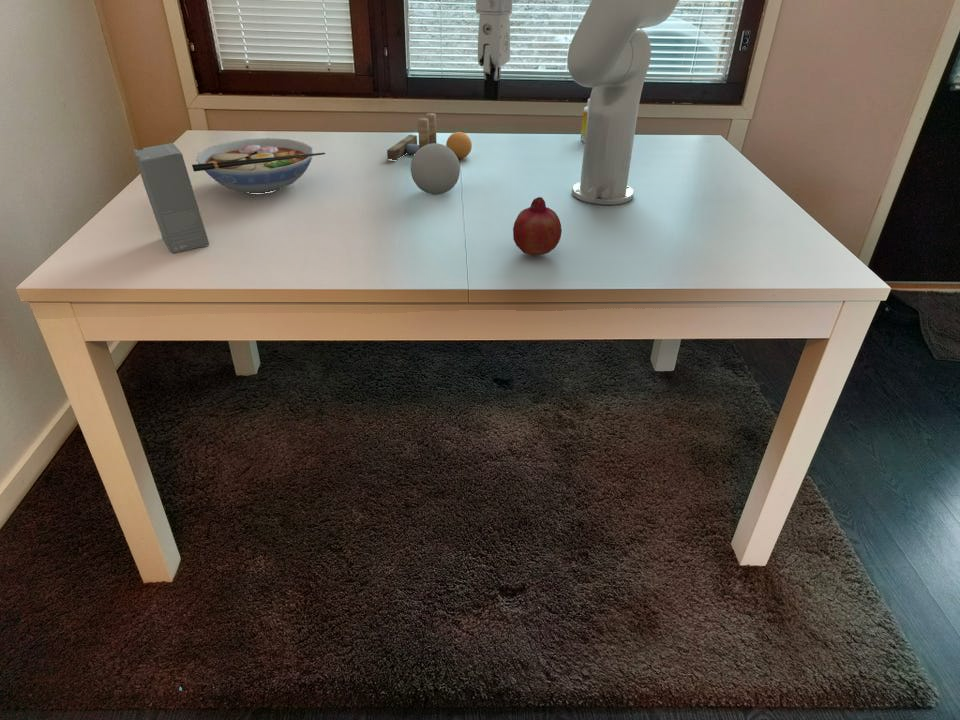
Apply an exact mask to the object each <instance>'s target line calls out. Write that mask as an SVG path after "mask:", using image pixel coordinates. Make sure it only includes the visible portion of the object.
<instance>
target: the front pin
mask: <svg viewBox="0 0 960 720" xmlns="http://www.w3.org/2000/svg"><path fill="white" fill-rule="evenodd" d="M418 150H419V144H417V145H416V144H407V147H406V152H407V154H406V155H411V154H415V153H416V152H417V151H418Z"/></svg>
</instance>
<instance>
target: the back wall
mask: <svg viewBox="0 0 960 720" xmlns="http://www.w3.org/2000/svg"><path fill="white" fill-rule="evenodd" d="M407 144H416V145H418V135H413V134H409V135H407V136H405V137H404V138H402V139H401V140H399V141H398V142H397V143H396V144H394V145H392V146H391V147H390V148H388V149H387V150H386V152H387V153H386V154H387V155H386V156H387V160H388V159H392V160H397V159H398V158H400V157H401V158H403V157H404V156H406V155H407V154H406V153H407V152H406V147H407ZM405 154H406V155H405ZM403 155H404V156H403ZM402 156H403V157H402ZM401 158H400V159H401ZM397 161H398V160H397Z"/></svg>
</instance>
